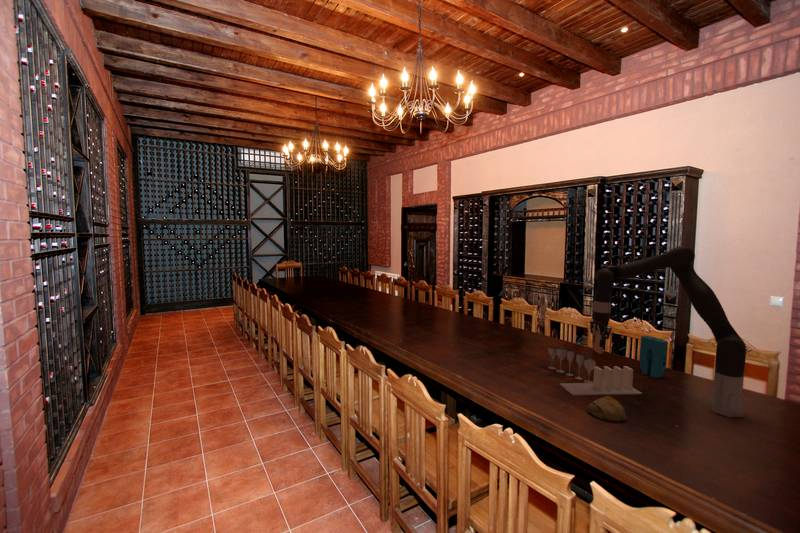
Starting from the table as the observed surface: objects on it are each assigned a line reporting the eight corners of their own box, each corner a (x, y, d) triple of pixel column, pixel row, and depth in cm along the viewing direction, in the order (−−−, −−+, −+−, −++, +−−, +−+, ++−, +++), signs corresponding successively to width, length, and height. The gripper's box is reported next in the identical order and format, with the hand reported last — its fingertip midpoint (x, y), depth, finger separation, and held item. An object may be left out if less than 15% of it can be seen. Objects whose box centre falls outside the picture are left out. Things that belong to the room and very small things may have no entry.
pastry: (629, 416, 157) (630, 397, 156) (621, 427, 148) (622, 407, 147) (593, 405, 167) (594, 388, 166) (583, 414, 158) (584, 396, 157)
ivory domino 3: (622, 389, 182) (623, 369, 181) (618, 389, 182) (620, 369, 181) (615, 385, 187) (616, 366, 186) (612, 385, 187) (613, 366, 186)
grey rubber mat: (642, 394, 178) (642, 393, 178) (573, 395, 176) (573, 394, 176) (624, 383, 191) (624, 382, 191) (559, 384, 189) (559, 383, 189)
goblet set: (544, 367, 213) (545, 344, 212) (551, 366, 216) (552, 343, 215) (590, 385, 189) (591, 359, 188) (597, 383, 192) (598, 357, 190)
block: (666, 378, 199) (668, 341, 197) (659, 379, 197) (662, 342, 195) (644, 370, 210) (646, 335, 208) (638, 371, 208) (640, 336, 206)
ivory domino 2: (612, 390, 182) (613, 370, 181) (609, 390, 181) (610, 370, 181) (605, 385, 187) (607, 366, 186) (602, 385, 186) (603, 366, 186)
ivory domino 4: (631, 389, 182) (633, 369, 181) (628, 389, 182) (630, 369, 181) (625, 385, 187) (626, 366, 186) (622, 385, 187) (623, 366, 186)
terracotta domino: (602, 353, 179) (604, 333, 178) (599, 353, 179) (601, 333, 178) (596, 350, 184) (598, 330, 183) (593, 350, 184) (595, 330, 183)
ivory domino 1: (602, 390, 181) (603, 370, 180) (599, 390, 181) (600, 370, 180) (596, 386, 186) (597, 366, 185) (593, 386, 186) (594, 366, 185)
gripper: (618, 314, 172) (615, 350, 174) (600, 307, 186) (597, 340, 188) (602, 313, 172) (599, 349, 174) (585, 307, 186) (583, 340, 188)
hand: (598, 344), depth 181 cm, fingers closed on terracotta domino, 5 cm apart
